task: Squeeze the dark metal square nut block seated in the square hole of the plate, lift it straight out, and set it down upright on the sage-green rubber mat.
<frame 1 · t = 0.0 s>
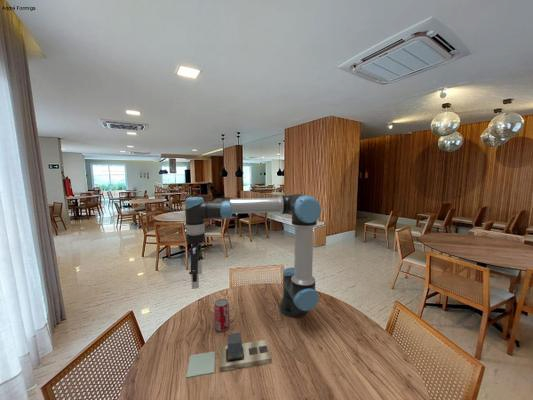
hand: (197, 280, 95), 28 cm above the table, fingers open, 13 cm apart
soda can: (222, 327, 106), on the table
nut block: (234, 358, 88), resting in plate
mat: (201, 364, 85), on the table
plate: (244, 357, 89), on the table
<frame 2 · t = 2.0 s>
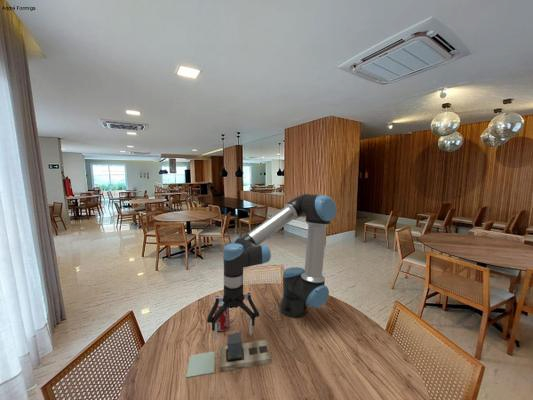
hand: (233, 335, 87), 10 cm above the table, fingers open, 13 cm apart
nothing on the table moved.
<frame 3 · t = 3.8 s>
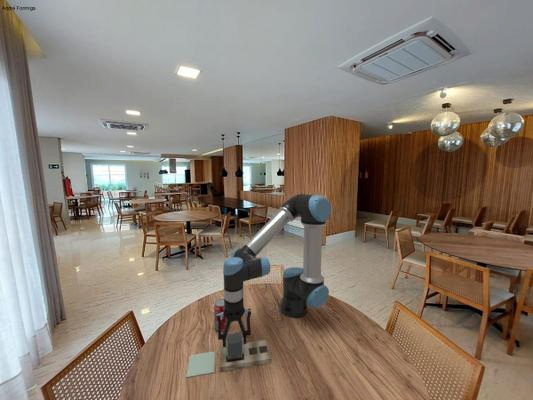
hand: (234, 352, 87), 3 cm above the table, fingers closed on nut block, 5 cm apart
nut block: (234, 358, 88), resting in plate, touching gripper
everything else where it was.
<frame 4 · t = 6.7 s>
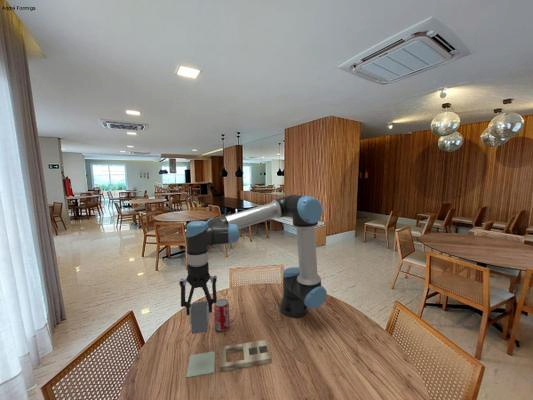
hand: (199, 321, 83), 18 cm above the table, fingers closed on nut block, 5 cm apart
nut block: (200, 328, 84), point 15 cm above the table, touching gripper
everything else where it was.
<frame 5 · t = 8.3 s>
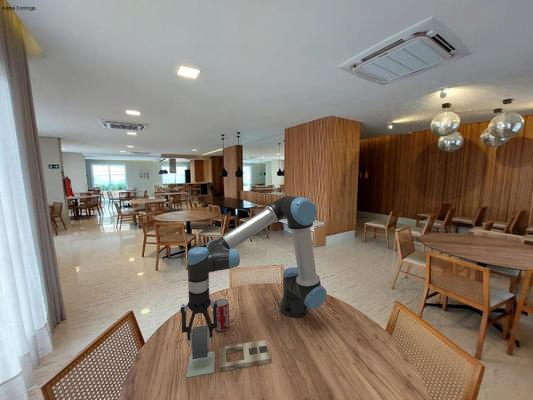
hand: (200, 345, 84), 8 cm above the table, fingers closed on nut block, 5 cm apart
nut block: (200, 352, 85), point 5 cm above the table, touching gripper
everything else where it was.
when the fingers open (4 cm above the table, at t = 9.9 s): nut block stays where it is, resting on mat.
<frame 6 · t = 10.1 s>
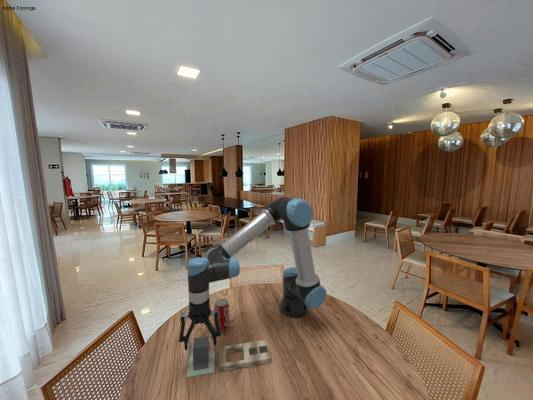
hand: (201, 354, 85), 4 cm above the table, fingers open, 8 cm apart
nut block: (201, 363, 85), resting on mat
everything else where it was.
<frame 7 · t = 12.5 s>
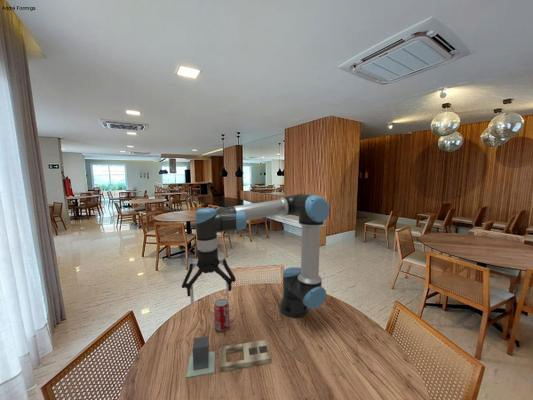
hand: (210, 300, 86), 24 cm above the table, fingers open, 13 cm apart
nothing on the table moved.
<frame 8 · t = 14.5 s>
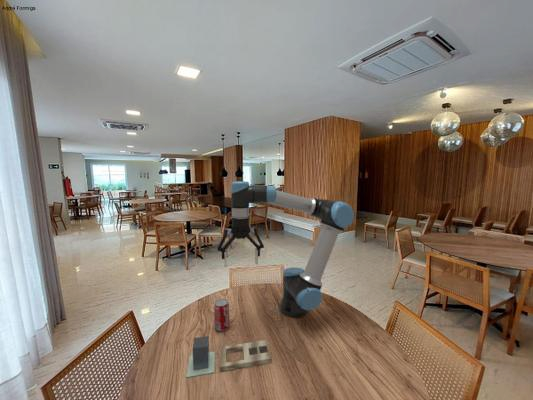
hand: (241, 264, 96), 35 cm above the table, fingers open, 13 cm apart
nothing on the table moved.
at the end: nut block inside the target area on the mat (0.0 cm from its centre), point 0.4 cm above the mat's base; nut block tilted 0°; the gripper is holding nothing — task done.
